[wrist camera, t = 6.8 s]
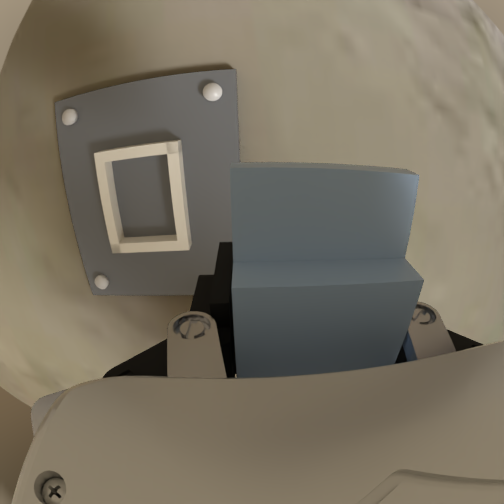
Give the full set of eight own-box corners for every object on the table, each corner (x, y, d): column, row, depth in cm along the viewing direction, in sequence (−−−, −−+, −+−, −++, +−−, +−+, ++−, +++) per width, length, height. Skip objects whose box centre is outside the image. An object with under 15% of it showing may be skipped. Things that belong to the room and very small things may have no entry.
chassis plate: (236, 70, 23) (235, 66, 21) (246, 288, 33) (246, 301, 30) (59, 102, 23) (46, 102, 21) (96, 290, 33) (88, 302, 30)
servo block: (348, 144, 10) (444, 188, 5) (322, 352, 15) (348, 454, 9) (236, 142, 10) (226, 179, 5) (243, 355, 14) (243, 463, 9)
